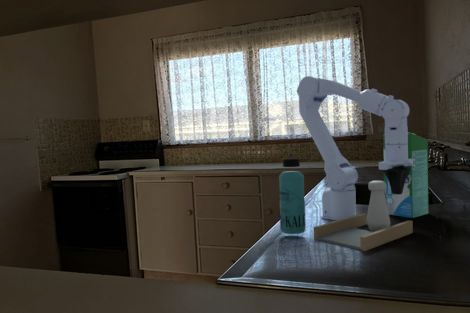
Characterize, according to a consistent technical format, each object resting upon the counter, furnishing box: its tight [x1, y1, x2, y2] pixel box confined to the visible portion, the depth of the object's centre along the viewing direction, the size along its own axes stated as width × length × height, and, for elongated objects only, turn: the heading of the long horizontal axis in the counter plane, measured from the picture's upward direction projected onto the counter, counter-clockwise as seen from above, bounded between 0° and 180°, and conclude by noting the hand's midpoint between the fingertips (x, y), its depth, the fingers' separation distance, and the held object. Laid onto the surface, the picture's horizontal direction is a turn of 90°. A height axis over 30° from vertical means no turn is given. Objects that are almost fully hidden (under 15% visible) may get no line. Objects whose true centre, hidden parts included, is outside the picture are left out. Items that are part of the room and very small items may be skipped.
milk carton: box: [382, 132, 429, 219], centre depth 116 cm, size 9×9×25 cm
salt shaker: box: [366, 180, 391, 232], centre depth 97 cm, size 6×6×13 cm
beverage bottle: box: [278, 157, 307, 235], centre depth 95 cm, size 6×7×20 cm
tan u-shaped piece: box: [313, 213, 414, 252], centre depth 94 cm, size 14×21×3 cm, turn 128°
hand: (397, 194), depth 103 cm, fingers closed
